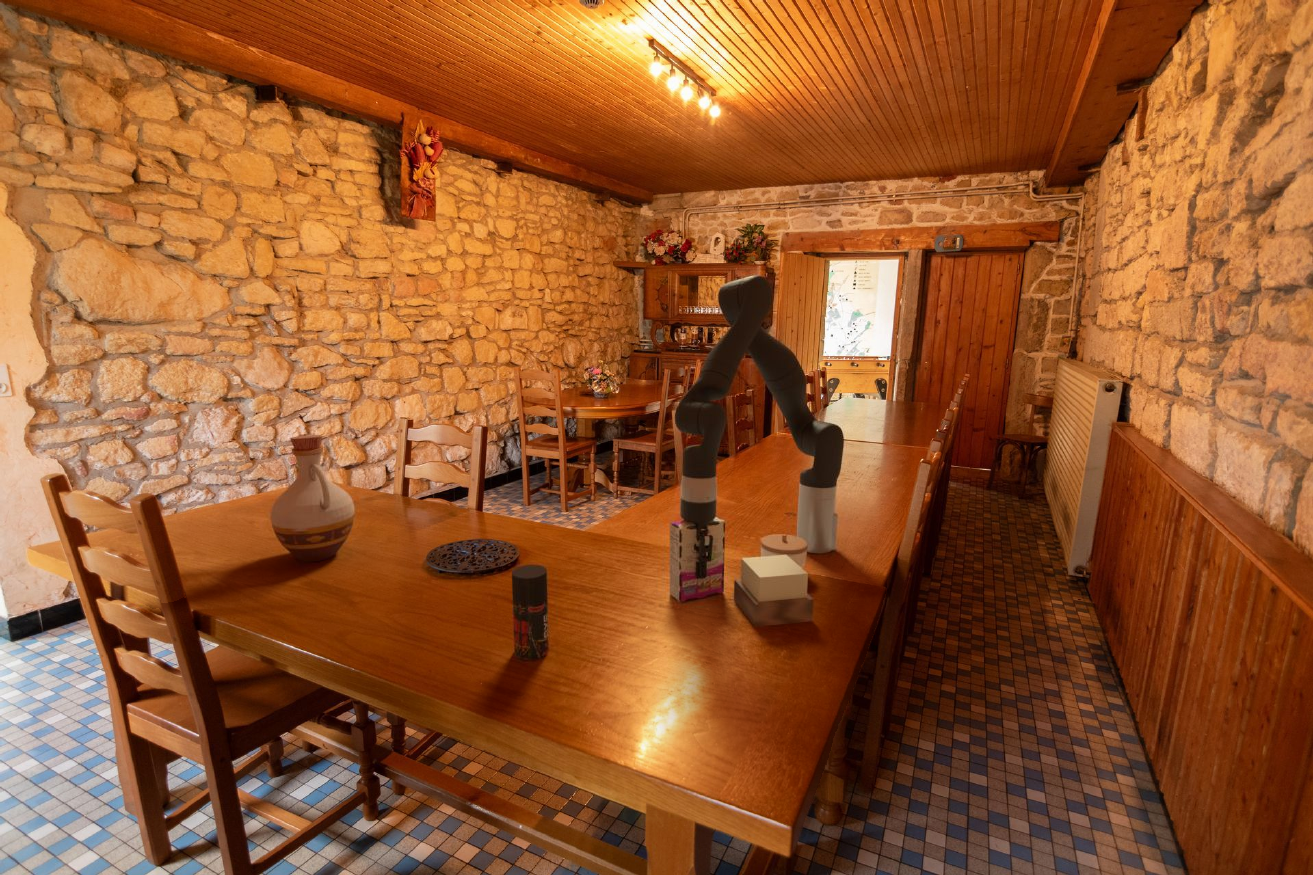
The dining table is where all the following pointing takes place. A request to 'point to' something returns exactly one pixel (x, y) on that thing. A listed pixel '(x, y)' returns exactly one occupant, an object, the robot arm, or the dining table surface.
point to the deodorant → (530, 612)
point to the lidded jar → (785, 547)
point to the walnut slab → (772, 608)
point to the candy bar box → (684, 562)
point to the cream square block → (774, 578)
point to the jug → (312, 507)
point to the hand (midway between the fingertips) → (696, 571)
